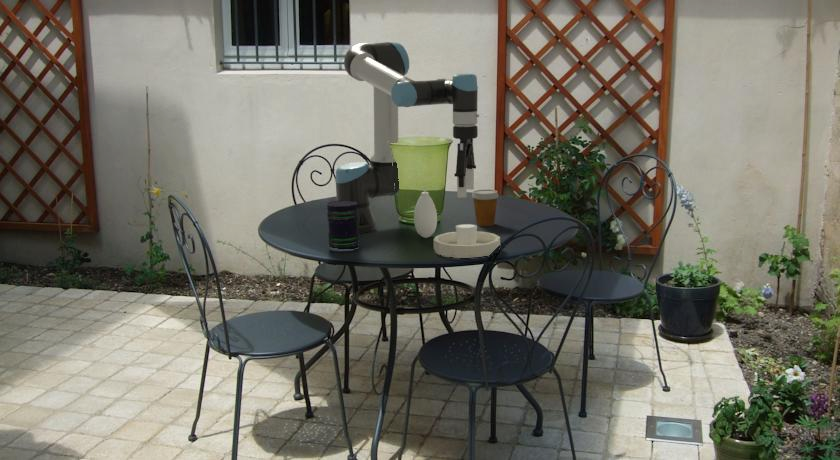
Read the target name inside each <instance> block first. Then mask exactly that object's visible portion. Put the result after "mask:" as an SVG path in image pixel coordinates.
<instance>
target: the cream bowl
mask: <svg viewBox="0 0 840 460" xmlns="http://www.w3.org/2000/svg"><path fill="white" fill-rule="evenodd" d="M432 243H433V249H434V253H435V254H436V255H438V256H440V255H441V257H443V258H444V257H445V258H449V257H453V258H452V259H460V258H471V257H482V256H488V257H490V256H489V255H490V254H491V253H492V252H493V251H494V250H495V249H496V248H497V247H498V246H499V245H500V246H501V237H500V236H499V235H497V234H496V233H493V232H492V233H491V232H488V231H480V230H479V231H478V230H477V235H476V245H458V244H457V235H456V231H450V232H445V233H441V234H437V235H436V236H435V237H434V238H433V242H432ZM482 258H483V257H482ZM471 259H472V258H471Z"/></svg>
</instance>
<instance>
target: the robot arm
mask: <svg viewBox="0 0 840 460" xmlns="http://www.w3.org/2000/svg"><path fill="white" fill-rule="evenodd" d="M343 66H344V70H345V72H346V73H347V74H348V75H349V76H350V77H351V78H353V79H354V80H356V81H358V82H366V83H368V84H370V85H371V86H372V87H373V145H374V147H373V155H372V156H371V157H370V158H369V159H370V160H369V163H368V162H366V161H356V162H355V161H354V162H348V163H345V164H342V165H339V166H338V167H337V169H335V181H334V182H335V188H336V190H335V194H336V201H355V202H357V210H358V214H357V215H358V220H357V229H358V232H359V234H364V233H369V232H372V231H375V230H376V226H377V225H376V224H377V223H376V220H375V218H374V214H373V212H372V209H371V203H370V202H371V200H370V199H373V198H380V197H388V196H389V197H392V196H396V195H398V194H397V193H398V192H399V190H400V189H399V181H398V180H399V179H398V168H397V163H396V161H395V159H393V154H392V155H391V150H392V148H390V143H397V142H398V143H399V108H410V107H421V106H433V105H435V106H436V105H452V124H453V127H452V136H453V138H454V139H457V140H459V143H457V152H456V153H457V155H456V156H457V157H456V167H455V173H454V177H456V182H457V183H456V184H457V185H456V186H457V187H456V189H457V190H456V192H457V194H456V195H457V198H461V199H462V198H464V199H465V198H467V190H471V191H472V190H473V191H474V189H475V186H474V185H475V180H474V178H475V177H474V174H475V173H474V172H475V171H474V170H475V169H476V168H477V164H476V162H475V155H474V154H475V153H474V139H477V138H478V129H479V128H478V126H477V124H478V118H479V117H480V114H479V113H478V89H479V86H478V76H477V75H476V74H474V73H456V74H453V76H452V79H447V78H437V79H433V80H432V79H431V80H430V79H429V80H413V79H411V78H409V77H407V76H406V75H407V74H408V73H409V71H410V58H409V54H408V52H407V50H406V49H405V47H404V46H403V45H402V44H401V43H399V42H393V41H390V42H389V41H383V42H382V41H381V42H362V43H357V44H355V45H353V46H351V47H350V48H349V49H348V50H347V52H346V53H345V56H344V58H343ZM388 141H389V142H388ZM387 142H388V143H387ZM392 161H393V166H392ZM394 183H395V186H394ZM394 187H395V190H394Z"/></svg>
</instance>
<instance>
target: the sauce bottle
mask: <svg viewBox="0 0 840 460" xmlns="http://www.w3.org/2000/svg"><path fill="white" fill-rule="evenodd" d="M423 187H424V188H423V192H421V193H420V196H419V198H418V199H417V201H416V204H415V208H414V213H413V222H414V227H415V230H416V232H417V234H418V235H420V236H421V237H422V238H425V239H427V238H429V237H431V236H432V235H433V234H435V231H436V230H437V225H438V214H437V209H436V208H437V207H436V206H435V203H434V201H433V198H432V197H431V195H430V193H429V192H428V191H426V184H424V185H423Z"/></svg>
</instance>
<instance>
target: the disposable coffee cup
mask: <svg viewBox="0 0 840 460" xmlns="http://www.w3.org/2000/svg"><path fill="white" fill-rule="evenodd" d="M471 197H472V198H473V199H472V200H473V205H474V206H473V208H474V213H475V221H476V222H475V223H476V225H477V227H478V226H479V227H492V226H495V221H496V213H497V212H496V211H497V203H498V198H499V193H498V190H496V189H477V190H473V191H472V194H471Z"/></svg>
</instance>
